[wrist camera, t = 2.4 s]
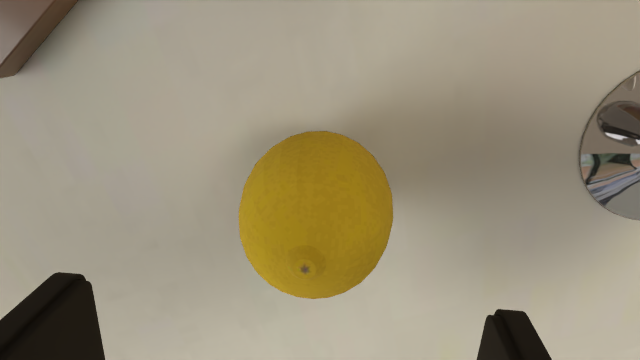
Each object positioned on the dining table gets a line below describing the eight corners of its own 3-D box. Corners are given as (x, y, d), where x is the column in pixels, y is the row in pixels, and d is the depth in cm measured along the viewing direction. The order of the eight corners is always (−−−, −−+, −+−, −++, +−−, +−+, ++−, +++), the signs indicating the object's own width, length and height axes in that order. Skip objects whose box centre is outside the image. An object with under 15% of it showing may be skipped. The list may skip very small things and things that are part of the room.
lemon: (393, 216, 20) (411, 339, 13) (278, 230, 21) (234, 352, 14) (378, 100, 18) (390, 167, 11) (252, 120, 19) (185, 194, 12)
